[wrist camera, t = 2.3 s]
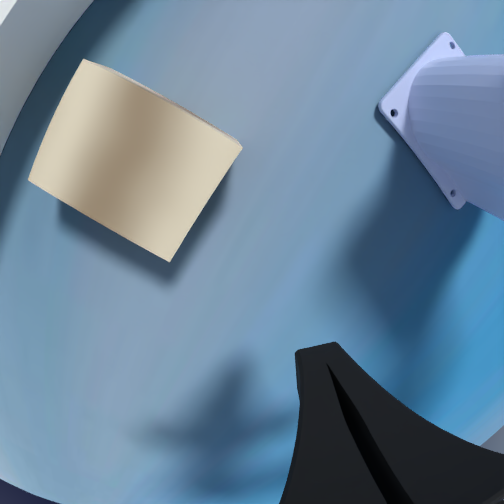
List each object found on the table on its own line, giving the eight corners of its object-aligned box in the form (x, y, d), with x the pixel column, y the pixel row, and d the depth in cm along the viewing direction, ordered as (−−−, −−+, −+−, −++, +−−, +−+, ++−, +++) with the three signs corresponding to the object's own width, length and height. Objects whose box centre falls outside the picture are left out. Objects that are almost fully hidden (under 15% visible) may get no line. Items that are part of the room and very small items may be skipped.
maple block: (237, 139, 16) (242, 147, 12) (178, 230, 18) (169, 262, 14) (111, 68, 14) (83, 59, 10) (62, 164, 15) (28, 180, 12)
